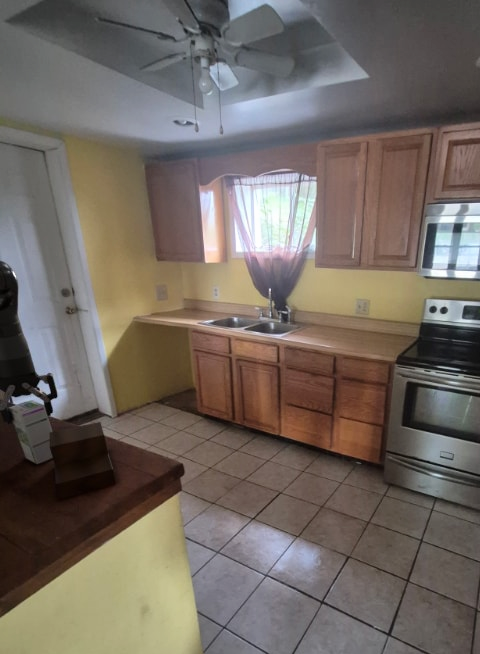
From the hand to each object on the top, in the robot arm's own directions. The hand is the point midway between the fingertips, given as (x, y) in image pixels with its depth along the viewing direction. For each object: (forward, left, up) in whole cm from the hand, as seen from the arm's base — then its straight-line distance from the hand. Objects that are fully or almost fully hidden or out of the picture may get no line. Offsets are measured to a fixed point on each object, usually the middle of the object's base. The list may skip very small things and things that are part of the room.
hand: (30, 418), depth 91 cm
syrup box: (0, 0, -11) cm, 11 cm away
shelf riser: (+9, -14, -11) cm, 20 cm away
